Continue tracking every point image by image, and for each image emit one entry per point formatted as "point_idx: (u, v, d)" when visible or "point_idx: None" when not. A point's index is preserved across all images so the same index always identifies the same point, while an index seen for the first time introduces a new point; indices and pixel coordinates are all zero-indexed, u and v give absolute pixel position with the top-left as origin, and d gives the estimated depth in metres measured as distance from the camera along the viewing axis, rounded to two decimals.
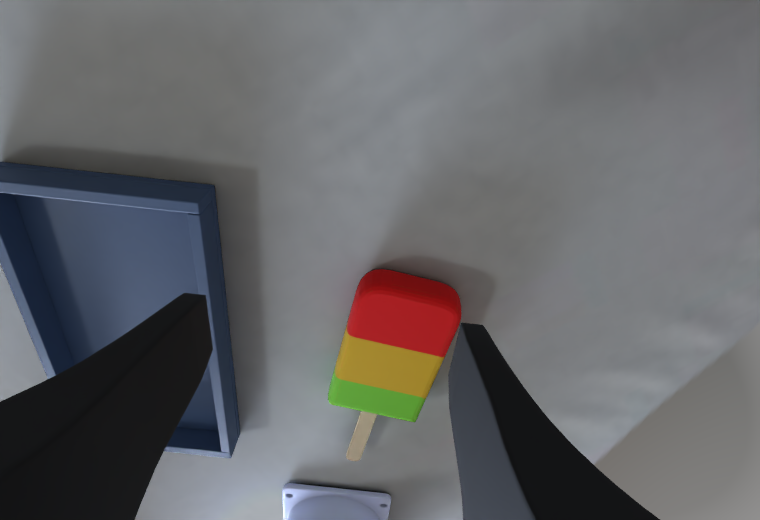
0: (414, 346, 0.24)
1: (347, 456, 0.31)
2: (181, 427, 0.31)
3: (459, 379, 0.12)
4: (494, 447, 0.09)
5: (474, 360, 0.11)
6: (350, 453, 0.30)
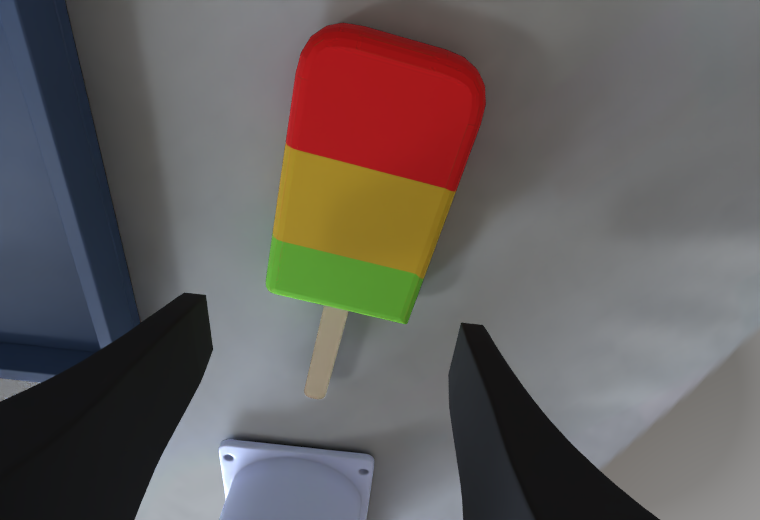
0: (403, 168, 0.14)
1: (306, 391, 0.20)
2: (58, 349, 0.20)
3: (459, 379, 0.12)
4: (494, 447, 0.09)
5: (474, 360, 0.11)
6: (310, 386, 0.20)
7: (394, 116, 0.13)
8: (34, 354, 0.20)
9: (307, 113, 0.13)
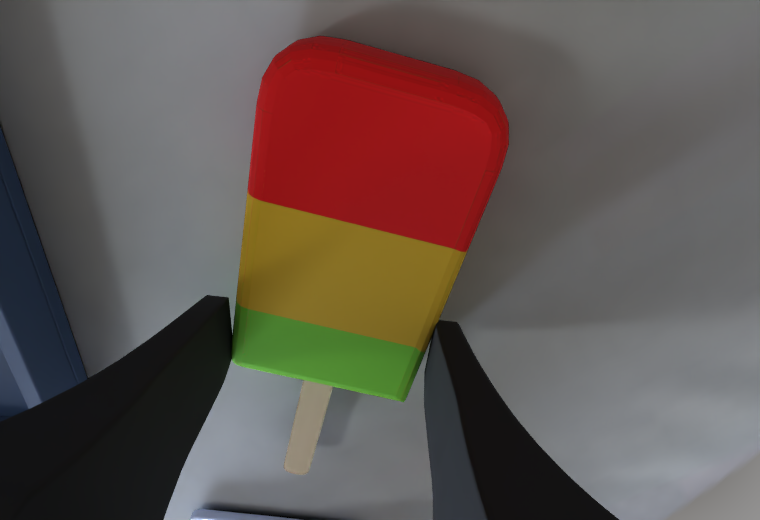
0: (399, 224, 0.11)
1: (286, 466, 0.17)
2: None
3: (432, 376, 0.12)
4: (457, 443, 0.09)
5: (444, 357, 0.11)
6: (291, 461, 0.17)
7: (387, 160, 0.10)
8: None
9: (273, 155, 0.10)
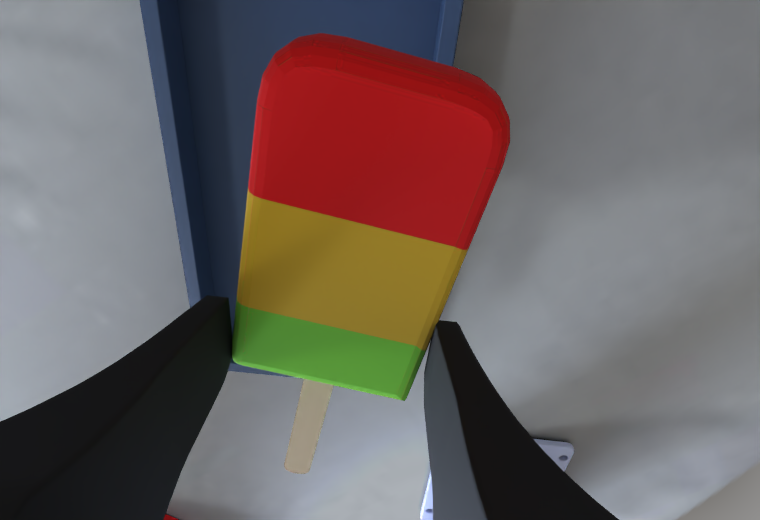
0: (400, 222, 0.11)
1: (286, 465, 0.17)
2: None
3: (432, 376, 0.12)
4: (457, 443, 0.09)
5: (444, 357, 0.11)
6: (291, 460, 0.17)
7: (388, 157, 0.10)
8: None
9: (273, 153, 0.10)
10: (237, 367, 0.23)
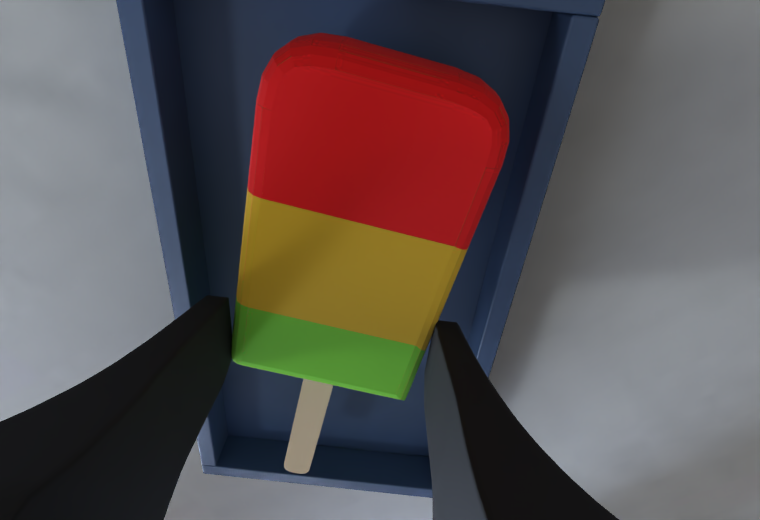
0: (400, 222, 0.11)
1: (286, 465, 0.17)
2: (364, 450, 0.20)
3: (432, 376, 0.12)
4: (457, 443, 0.09)
5: (444, 357, 0.11)
6: (291, 460, 0.17)
7: (388, 157, 0.10)
8: (347, 458, 0.19)
9: (272, 152, 0.10)
10: (249, 474, 0.19)
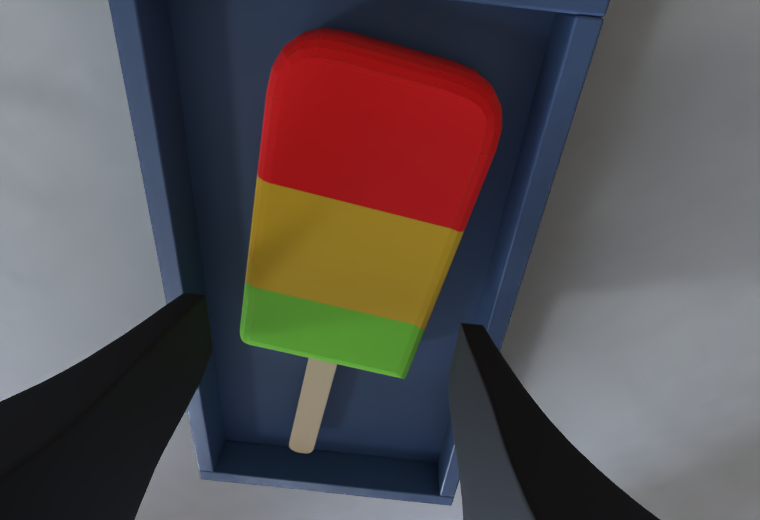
0: (399, 205, 0.11)
1: (291, 445, 0.18)
2: (363, 455, 0.20)
3: (459, 379, 0.12)
4: (494, 447, 0.09)
5: (474, 360, 0.11)
6: (296, 440, 0.18)
7: (389, 143, 0.10)
8: (346, 463, 0.19)
9: (281, 139, 0.11)
10: (247, 480, 0.18)
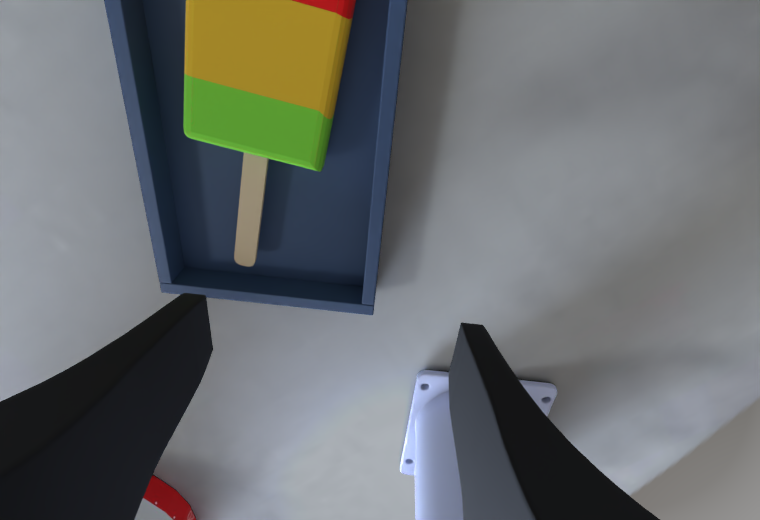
0: None
1: (236, 257, 0.21)
2: (301, 280, 0.23)
3: (459, 379, 0.12)
4: (494, 447, 0.09)
5: (474, 360, 0.11)
6: (239, 251, 0.21)
7: None
8: (285, 283, 0.23)
9: None
10: (200, 291, 0.22)
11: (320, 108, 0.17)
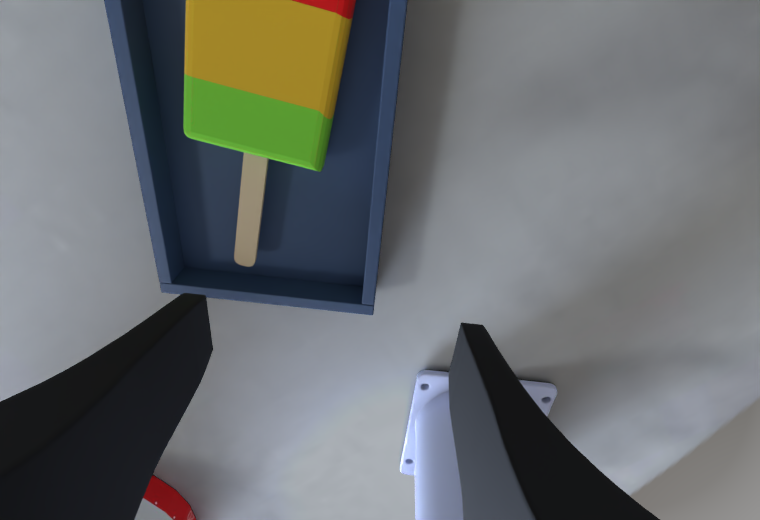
0: None
1: (236, 257, 0.21)
2: (301, 280, 0.23)
3: (459, 379, 0.12)
4: (494, 447, 0.09)
5: (474, 360, 0.11)
6: (239, 251, 0.21)
7: None
8: (285, 283, 0.23)
9: None
10: (200, 291, 0.22)
11: (320, 108, 0.17)
